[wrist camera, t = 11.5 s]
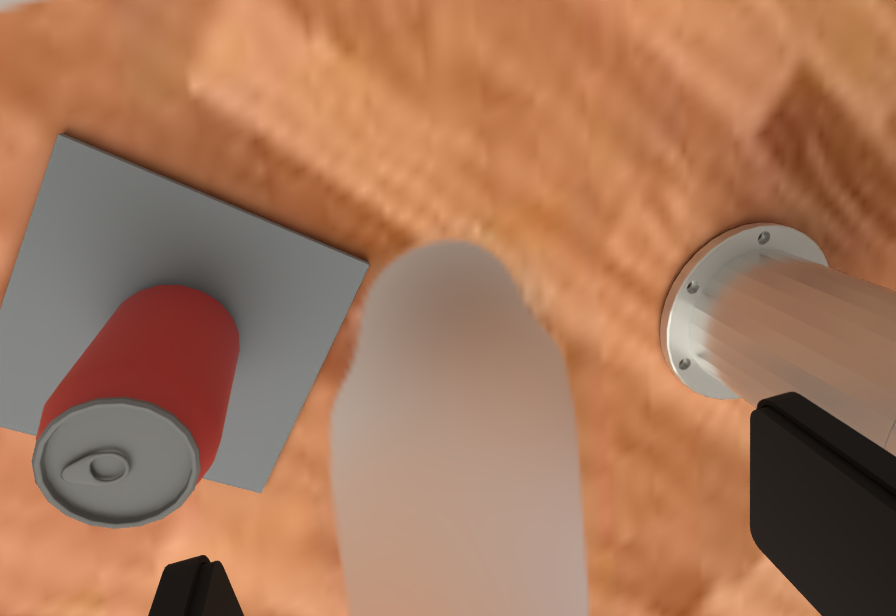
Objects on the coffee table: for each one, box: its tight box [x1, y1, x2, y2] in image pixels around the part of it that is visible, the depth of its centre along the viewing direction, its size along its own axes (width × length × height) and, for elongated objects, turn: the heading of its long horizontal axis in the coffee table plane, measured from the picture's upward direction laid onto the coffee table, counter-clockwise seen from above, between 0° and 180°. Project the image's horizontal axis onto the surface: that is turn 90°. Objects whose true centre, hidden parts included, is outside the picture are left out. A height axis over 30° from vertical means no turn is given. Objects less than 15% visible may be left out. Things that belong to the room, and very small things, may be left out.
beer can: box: [32, 285, 240, 529], centre depth 28 cm, size 7×7×12 cm
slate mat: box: [0, 133, 369, 493], centre depth 33 cm, size 16×16×1 cm
